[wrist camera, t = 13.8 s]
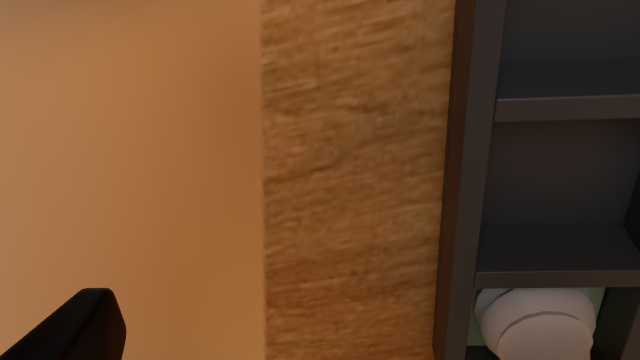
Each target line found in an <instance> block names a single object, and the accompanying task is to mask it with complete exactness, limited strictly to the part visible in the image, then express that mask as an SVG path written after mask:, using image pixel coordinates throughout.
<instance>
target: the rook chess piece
mask: <svg viewBox="0 0 640 360" xmlns="http://www.w3.org/2000/svg"><path fill="white" fill-rule="evenodd" d="M474 313H475V315H476V318H477V321H478V324H479V326H480V330H481V333H482V336H483V339H484V342H485V343H486V345H487V347H488V348H489V349H490V350H491V351H492V352H493V353H494V354H495V355H497V356H498V357H499V358H500V360H590V349H591V347H592V345H593V338H592V335H593V333H594V330H595V328H596V318H595V313H594V308H593V304H592V303H591V302H590V299H589V294H588V289H587V287H584V288H498V289H483V290H482V292H481V293H480V294H479V295H478V298H477V302H476V306H475V310H474Z"/></svg>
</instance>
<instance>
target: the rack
mask: <svg viewBox="0 0 640 360" xmlns="http://www.w3.org/2000/svg"><path fill="white" fill-rule="evenodd" d="M584 287H587V289H588V294H589V299H590V302H591V303H592V304H593V308H594V313H595V318H596V328H595V330H594V333H593V335H592V338H593V345H592V347H591V349H590V360H640V0H456V6H455V20H454V35H453V50H452V64H451V79H450V94H449V109H448V123H447V138H446V153H445V167H444V182H443V197H442V211H441V226H440V241H439V255H438V270H437V285H436V300H435V314H434V329H433V344H432V345H433V352H434V359H435V360H500V358H499V357H498V356H497V355H495V354H494V353H493V352H492V351H491V350H490V349H489V348H488V347H487V345H486V343H485V342H484V339H483V336H482V333H481V330H480V326H479V324H478V321H477V318H476V315H475V313H474V310H475V306H476V302H477V298H478V295H479V294H480V293H481V292H482V290H483V289H498V288H584Z"/></svg>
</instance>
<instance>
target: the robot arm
mask: <svg viewBox="0 0 640 360" xmlns="http://www.w3.org/2000/svg"><path fill="white" fill-rule="evenodd" d="M125 340H126V326H125V322H124V320H123V317H122V314H121V311H120V308H119V306H118V303H117V300H116V297H115V295H114V293H113V291H112V290H110V289H108V288H86V289H82V290H81V291H79V292H78V293H76V294H75V295H74V296H73V297H72V298H70V299H69V300H68V301H67V302H65V303H64V304H63V305H62V306H61V307H59V308H58V309H57V310H56V311H55V312H53V313H52V314H51V315H50V316H48V317H47V318H46V319H45V320H44V321H42V322H41V323H40V324H39V325H37V326H36V327H35V328H34V329H33V330H31V331H30V332H29V333H28V334H27V335H25V336H24V337H23V338H22V339H20V340H19V341H18V342H17V343H16V344H14V345H13V346H12V347H11V348H9V349H8V350H7V351H6V352H4V353H3V354H2V355H1V356H0V360H121V359H122V354H123V350H124V345H125Z"/></svg>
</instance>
